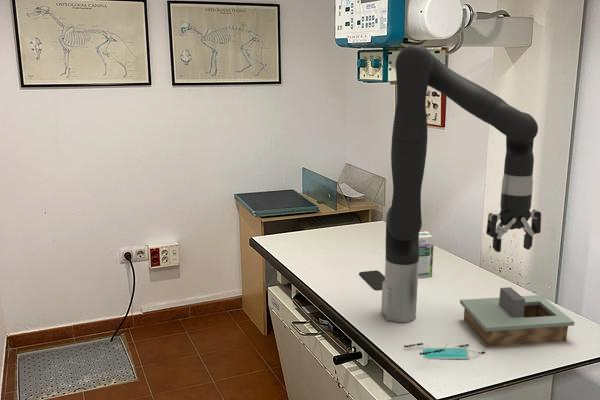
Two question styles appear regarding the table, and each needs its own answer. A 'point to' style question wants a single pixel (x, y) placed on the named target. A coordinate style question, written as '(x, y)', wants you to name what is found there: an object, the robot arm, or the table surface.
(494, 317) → the lid
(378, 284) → the phone
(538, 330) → the wooden frame
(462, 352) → the surgical mask
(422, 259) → the syrup box
